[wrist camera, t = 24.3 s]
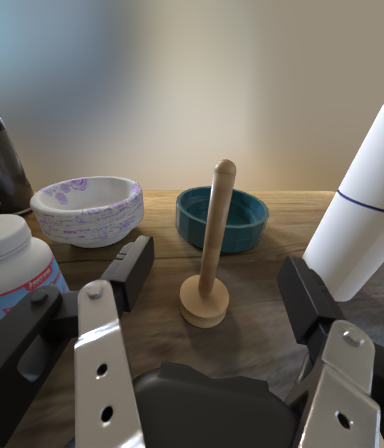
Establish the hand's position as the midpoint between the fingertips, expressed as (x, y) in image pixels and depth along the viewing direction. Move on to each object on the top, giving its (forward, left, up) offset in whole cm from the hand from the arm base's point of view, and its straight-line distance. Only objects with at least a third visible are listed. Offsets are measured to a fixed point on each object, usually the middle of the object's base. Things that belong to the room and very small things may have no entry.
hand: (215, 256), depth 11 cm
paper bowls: (-24, -3, -12) cm, 27 cm away
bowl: (-14, +16, -12) cm, 25 cm away
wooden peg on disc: (-3, +3, -12) cm, 13 cm away
